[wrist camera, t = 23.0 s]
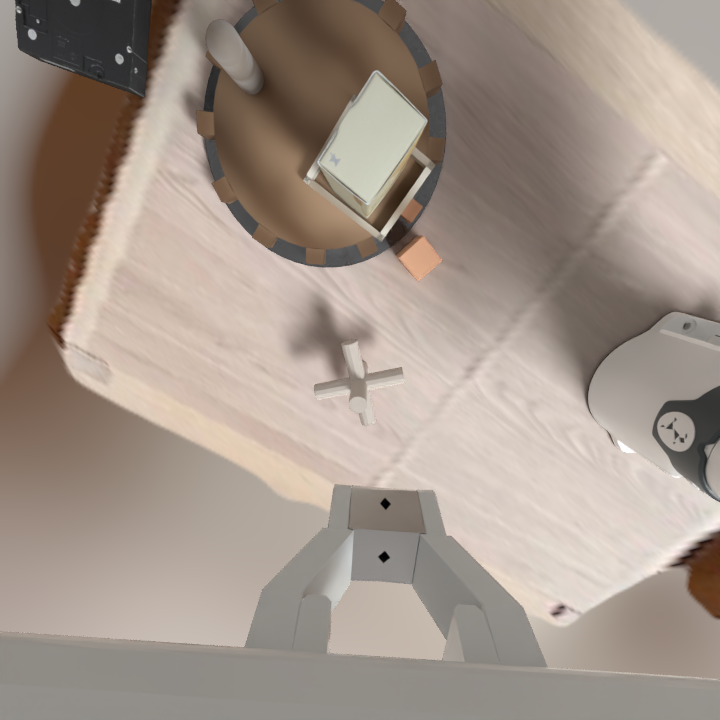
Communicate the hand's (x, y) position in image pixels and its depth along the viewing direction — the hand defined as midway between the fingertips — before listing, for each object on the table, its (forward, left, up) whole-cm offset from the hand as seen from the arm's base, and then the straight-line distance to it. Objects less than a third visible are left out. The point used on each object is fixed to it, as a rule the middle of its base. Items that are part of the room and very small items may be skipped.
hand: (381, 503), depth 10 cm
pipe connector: (+1, +8, -31) cm, 32 cm away
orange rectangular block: (-4, -6, -31) cm, 32 cm away
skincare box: (+1, -13, -28) cm, 31 cm away
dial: (+6, -16, -31) cm, 35 cm away
